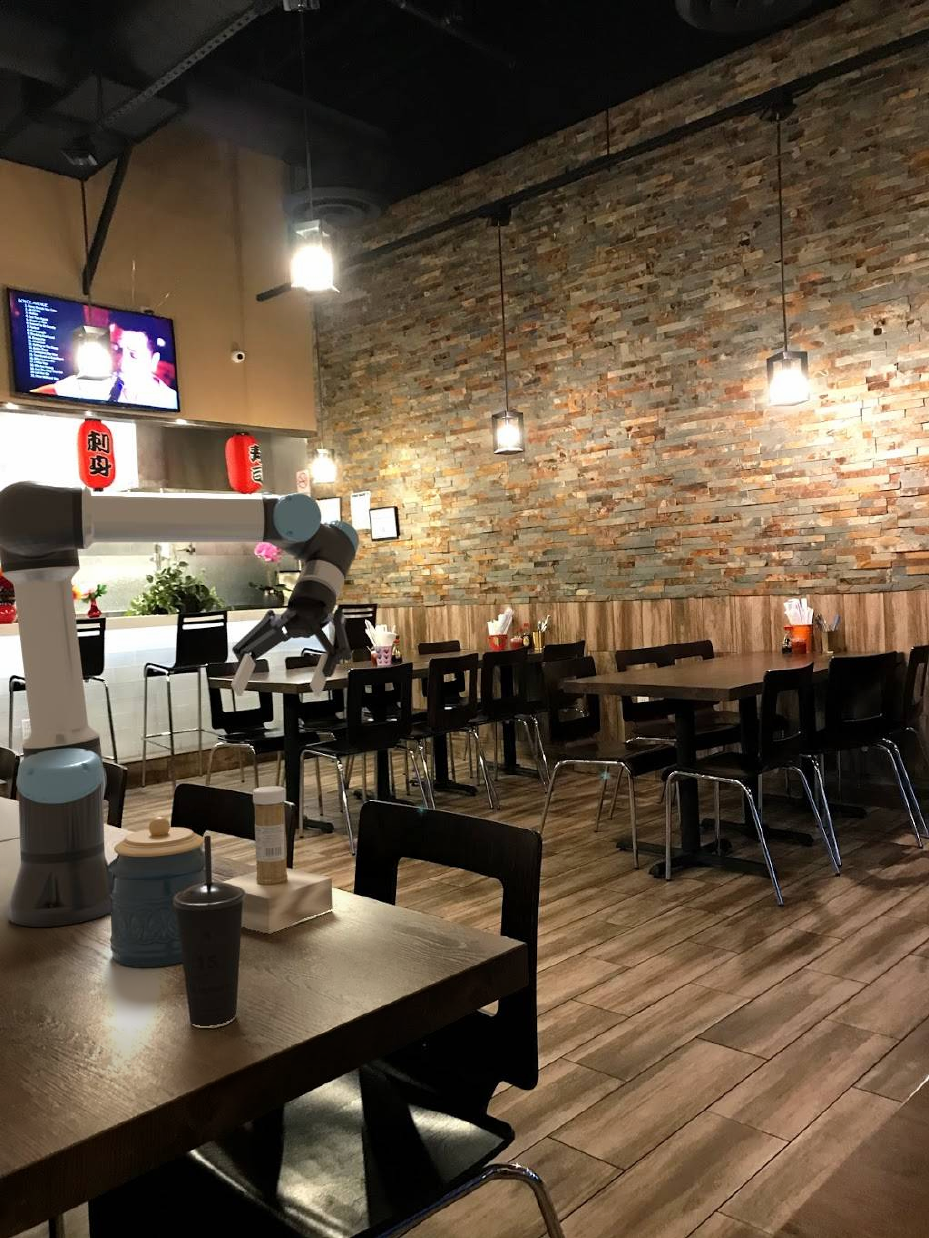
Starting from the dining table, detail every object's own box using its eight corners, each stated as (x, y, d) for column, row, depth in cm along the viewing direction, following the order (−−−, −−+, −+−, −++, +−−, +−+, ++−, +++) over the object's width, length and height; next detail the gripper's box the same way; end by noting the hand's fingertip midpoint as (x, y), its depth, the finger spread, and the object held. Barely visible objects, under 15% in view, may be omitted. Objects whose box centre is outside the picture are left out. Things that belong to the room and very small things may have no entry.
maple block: (269, 934, 134) (268, 898, 134) (213, 919, 142) (212, 884, 142) (332, 911, 144) (331, 877, 144) (276, 898, 151) (276, 865, 151)
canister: (235, 944, 131) (231, 812, 131) (154, 977, 120) (150, 832, 120) (170, 928, 138) (166, 803, 138) (89, 957, 128) (84, 821, 127)
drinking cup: (173, 1012, 110) (168, 832, 109) (243, 1000, 112) (238, 825, 112) (179, 1040, 102) (173, 848, 102) (253, 1027, 105) (248, 840, 105)
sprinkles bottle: (289, 875, 145) (286, 784, 145) (285, 884, 141) (282, 790, 141) (258, 877, 145) (255, 785, 145) (253, 886, 141) (250, 791, 140)
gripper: (390, 607, 166) (356, 706, 152) (258, 610, 173) (214, 705, 159) (377, 575, 161) (341, 674, 147) (242, 579, 168) (194, 674, 154)
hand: (274, 690), depth 153 cm, fingers open, 13 cm apart
